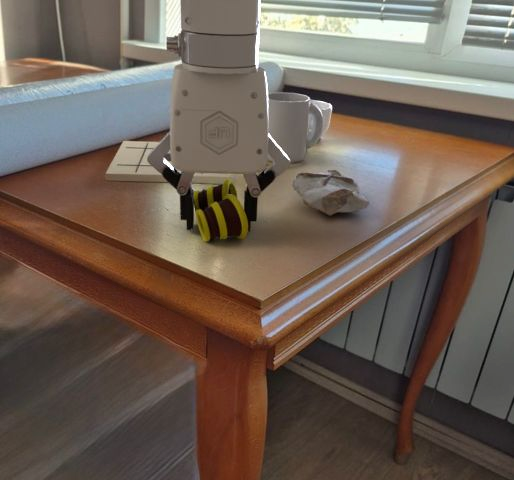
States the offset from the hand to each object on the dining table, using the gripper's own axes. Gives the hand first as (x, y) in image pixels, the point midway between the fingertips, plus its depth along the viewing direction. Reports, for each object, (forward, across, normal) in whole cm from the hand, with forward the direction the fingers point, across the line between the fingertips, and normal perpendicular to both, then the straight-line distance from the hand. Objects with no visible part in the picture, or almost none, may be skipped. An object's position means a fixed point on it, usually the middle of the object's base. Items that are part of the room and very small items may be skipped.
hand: (218, 225), depth 69 cm
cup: (+1, +11, +31) cm, 33 cm away
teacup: (+1, +15, +43) cm, 46 cm away
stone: (+1, +14, +10) cm, 17 cm away
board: (+1, -7, +25) cm, 26 cm away
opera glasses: (+1, 0, 0) cm, 1 cm away
